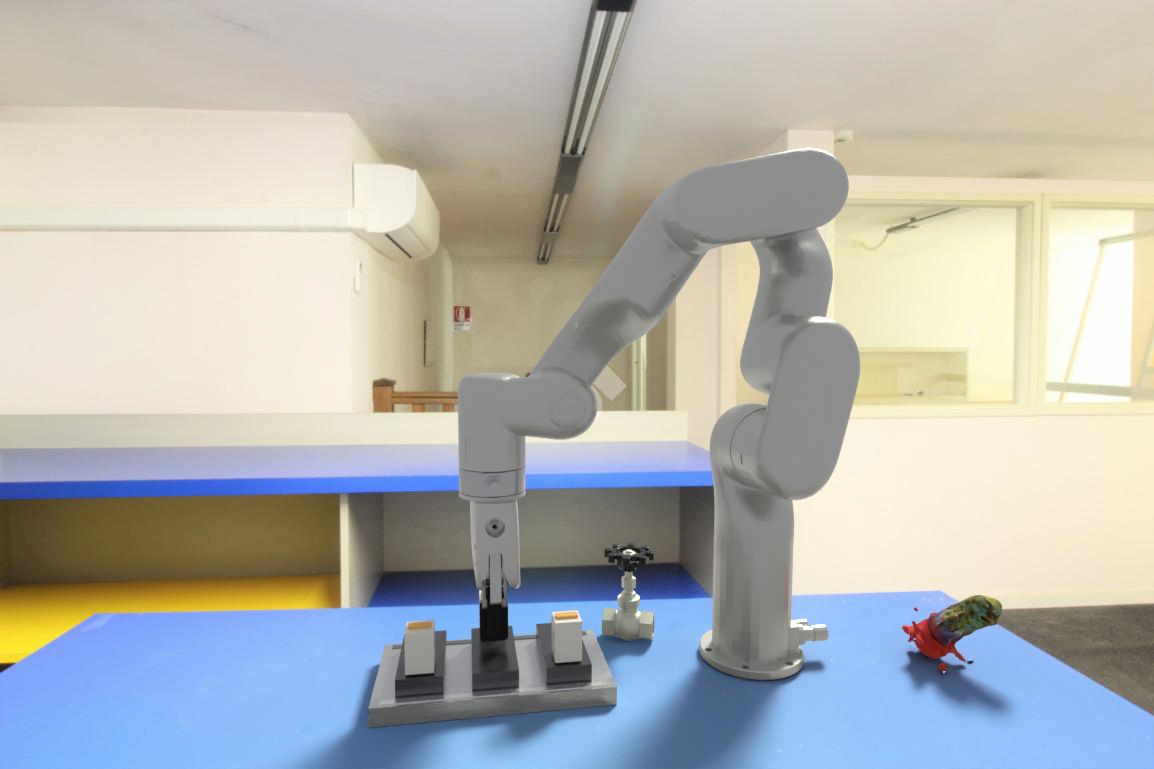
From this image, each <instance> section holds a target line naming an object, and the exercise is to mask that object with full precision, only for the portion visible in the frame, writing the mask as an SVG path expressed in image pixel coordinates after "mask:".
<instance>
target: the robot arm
mask: <svg viewBox="0 0 1154 769" xmlns="http://www.w3.org/2000/svg"><path fill="white" fill-rule="evenodd" d="M849 184H850V183H849V178H848V174H847V171H846V169H845V167H844V165H843V164H842V163H841V161H840V160H839V159H838V158H837V157H835V155H833V154H832V153H829V152H828V151H826V150H823V149H820V148H815V147H814V148H812V147H804V148H803V147H802V148H796V149H790V150H786V151H780V152H776V153H771V154H765V155H761V156H755V157H750V158H745V159H744V158H743V159H740V160H733V161H726V162H723V163H722V162H721V163H717V164H712V165H706V166H703V167H699V168H696V169H694V170H692V171H690V172H688V173H687V174H685V175H684V176H682V177H681V178H678V180H676V181H674V182H672V184H670V185H669V186H667V187H665V188H664V189H663V190H662V191H661V192H660V193H659V194H658V195H657V196H656V198H655V199H654V200H653V202H652V203H651V204H650V205H649V207H648V208H647V210H646V212H645V213H644V214H643V216H641V219H640V220H639V221H638V223H637V224H636V226H635V228H634V229H633V231H632V232H631V233H630V235H629V236H628V238H627V239H626V240H625V242H624V244H623V245H622V246H621V248H620V249H619V251H618V252H617V253H616V255H615V257H614V258H612V260H611V262H610V263H609V264H608V266H607V268H606V269H605V271H603V274H602V275H601V276H600V277H599V279H598V280H597V282H596V283H595V284H594V285H593V287H592V288H591V289H590V290H589V292H588V293H587V294H586V296H585V297H584V298H583V300H582V302H581V303H580V305H579V306H578V307H577V309H576V310H575V311H574V313H573V314H572V315H571V317H569V319H568V320H567V322H566V323H565V324H564V326H563V327H562V328H561V329H560V331H559V332H558V334H557V335H556V336H555V337H554V339H553V340H552V341H551V343H550V344H549V346H548V347H547V349H546V350H545V352H544V353H543V354H542V356H541V357H540V358H539V360H538V362H537V363H536V365H535V366H534V367H533V368H532V370H531V372H530V373H529V375H528V376H523V377H522V376H521V377H520V376H519V375H517V374H515V373H508V372H478V373H471V374H467V375H465V376H463V377H461V379H459V380H460V381H459V383H458V387H457V422H458V423H457V430H458V432H457V433H458V435H457V436H458V497H459V498H461V499H463V500H465V501H468V502H469V507H470V508H469V512H470V514H469V517H470V518H469V519H470V539H471V541H470V542H471V544H470V546H471V555H472V563H473V572H474V578H475V584H476V588H477V589H478V590H481V601H482V603H479V604H478V605H479V606H478V609H480V625H479V628H480V640H481V641H482V642H489V641H502V640H507V639H508V626H509V605H508V604H509V603H508V600H507V599H508V596H507V592H508V591H507V587H508V585H509V588H513V587H514V589H515V590H516V589H517V590H518V589H519V588H520V586H522V584H521V583H522V582H521V561H520V560H521V558H520V557H521V556H520V527H519V526H520V524H519V509H518V508H519V507H518V506H519V505H518V500H519V499H522V498H523V497H525V496H526V492H527V490H526V489H527V488H526V484H527V483H526V480H527V479H526V477H527V476H526V470H527V469H526V437H529V438H531V437H532V438H540V439H548V440H558V441H560V440H561V441H563V440H565V441H566V440H570V439H574V438H577V437H579V436H581V435H582V434H584V433H586V432H587V431H588V430H589V429H590V428H591V427H592V426H593V423H594V421H595V419H596V417H597V412H598V401H597V397H596V394H595V392H594V390H593V388H592V387H593V386H594V385H595V382H596V381H597V380H598V378H599V377H600V376H601V374H602V373H603V372H604V371H605V369H606V368H607V367H608V365H609V364H610V363H611V362H612V361H613V360H614V359H615V357H617V355H619V354H620V353H621V352H622V351H623V350H624V349H626V348H627V347H628V346H630V345H631V344H632V343H634V342H636V341H638V340H639V339H641V338H642V337H644V336H645V335H647V334H648V332H650V331H651V330H652V329H653V328H654V327H655V326H657V325H658V324H659V322H660V321H661V320H662V318H663V317H664V316H665V314H666V313H667V311H668V309H670V306H671V305H672V303H674V300H675V299H676V297H677V296H678V294H679V293H680V292H681V291H682V288H684V286H685V285H686V283H687V282H688V280H689V279H690V277H691V275H692V274H693V273H694V271H695V270H696V269H697V267H698V266H699V265H700V263H701V262H702V260H703V259H704V258H705V256H706V254H707V253H708V252H709V251H710V250H712V249H716V248H719V247H723V246H728V245H733V244H739V243H745V242H747V243H748V242H749V243H750V244H751V246H752V248H753V249H754V252H755V254H756V257H757V260H758V265H759V276H758V284H757V289H756V296H755V299H754V303H753V307H752V309H751V315H750V319H749V322H748V326H747V331H746V334H745V337H744V341H743V344H742V348H741V353H740V360H739V367H740V372H741V376H742V377H743V379H744V382H746V383H747V384H748V385H749V386H750V387H751V388H753V389H754V390H755V391H758V392H760V393H763V394H766V395H769V396H768V399H767V404H766V405H765V404H761V403H760V404H759V403H744V404H739V405H735V406H733V407H731V408H729V409H728V410H726V411H725V412H724V413H723V414H722V415H720V417H719V418H718V419H717V420H716V422H715V424H714V426H713V427H712V430H711V435H710V439H709V459H710V461H709V462H710V467H711V474H712V483H713V495H714V496H713V497H714V499H713V501H714V519H713V520H714V528H713V573H712V578H713V579H712V617H711V618H712V619H711V620H712V621H711V622H712V624H711V629H709V630H708V631H706V632H704V633H703V635H702V636H700V639H699V646H698V648H699V654H700V655H701V657H702V658H703V660H704V661H706V663H707V664H709V665H710V666H712V667H713V668H714V669H717V670H719V671H721V672H723V673H725V674H728V675H731V676H734V677H738V678H742V679H746V680H747V679H749V680H755V681H756V680H758V681H759V680H760V681H768V680H769V681H771V680H774V681H775V680H781V679H785V678H787V677H790V676H792V675H794V674H795V675H796V673H798V672H799V671H800V670H801V669H802V667H803V665H804V658H805V657H804V656H805V655H804V651H803V649H802V647H801V646H803V645H804V646H805V643H806V642H824V641H828V639H829V630H828V628H827V626H826V625H825V624H824V623H823V624H811V625H809V623H808V620H807V619H806V618H799V619H798V618H797V619H792V610H793V609H792V605H793V604H792V603H793V578H794V577H793V570H794V569H793V568H794V543H795V542H794V540H795V510H794V503H793V501H800V500H806V499H808V498H810V497H812V496H815V495H816V494H818V492H820V491H821V490H822V489H823V488H824V487H825V486H826V484H827V483H828V482H829V480H830V479H831V476H832V475H833V473H834V471H835V468H836V466H837V464H838V461H839V458H840V454H841V449H842V447H843V443H844V439H845V437H846V432H847V428H848V425H849V422H850V417H851V414H852V410H853V405H854V401H855V398H856V394H857V389H858V386H859V380H860V377H861V376H860V375H861V357H860V351H859V347H858V344H857V342H856V340H855V338H854V336H853V335H852V334H851V331H849V330H848V328H846V326H844V324H841V323H840V322H839V321H836V320H834V319H833V318H828V317H827V314H828V308H829V303H830V298H831V293H832V289H833V282H834V281H833V280H834V279H833V278H834V270H833V262H832V258H831V255H830V252H829V250H828V247H827V245H826V243H825V241H824V239H823V237H822V235H821V234H820V232H819V229H818V228H820V227H823V226H826V225H827V224H828V223H830V222H832V221H833V220H834V219H835V218H836V217H837V216H838V214H840V212H841V211H842V210H843V207H844V205H845V204H846V202H847V198H848V195H849V188H850V187H849ZM507 582H508V583H507ZM507 584H508V585H507Z"/></svg>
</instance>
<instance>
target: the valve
mask: <svg viewBox="0 0 1154 769" xmlns="http://www.w3.org/2000/svg"><path fill="white" fill-rule="evenodd" d="M611 545H612V546H611V547H606V548H604V549H603V557H604V558H607V562H608V563H609V564H615V563H616V564H617V565H616V567H618V569H619V570H621V571H623V572H624V575H623V576H621V588H622V589H623V590H622V591H621V592H620V593H619V594H618V595H617V598H616V599H617V600H616V602H617V603H616V604H617V606H618V607H619V609H618V608H615V607H614V608H611V607H604V609H603V612H602V616H601V634H602V635H603V636H608V637H609V636H610V637H617V638H618V639H621V640H623V641H627V642H630V641H635V640H637V639H639V640H641V639H642V640H648V641H649V640H650V641H653V639H654V637H655V636H654V635H655V622H656V620H655V618H656V617H655V612H654V611H647V610H639V609H638V608H639V607H640V604H641V599H640V598H641V597H640V595H639V594H637V593H636V591H635V590H634V589H636V588H637V578H636V577H635V576H634V575H633V574H634V572H637V569H639V568H642V567H643V566H645V565H647V564H648V560H649V561H650V562H651V561H654V560H655V552H654V550H650V546H649V545H641V546H636V543H634V542H628V543H627V544H626V545H621V544H620V543H613V544H611ZM647 558H648V560H647Z"/></svg>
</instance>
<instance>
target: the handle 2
mask: <svg viewBox="0 0 1154 769" xmlns="http://www.w3.org/2000/svg"><path fill="white" fill-rule="evenodd" d="M551 623H552V653H553V657H554V661H555V663H563V662H576V661H582V631H583V620H582V618H581V615H580V612H579V610H577V609H576V610H561V611H552V612H551Z"/></svg>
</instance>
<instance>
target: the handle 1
mask: <svg viewBox="0 0 1154 769" xmlns="http://www.w3.org/2000/svg"><path fill="white" fill-rule="evenodd" d="M404 629H405V630H404V633H403V638H404V647H405V675H414V674H426V673H434V668H435V631H436V621H435V619H431V620H430V619H429V620H427V619H425V620H413V621H406V623H405V628H404Z"/></svg>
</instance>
